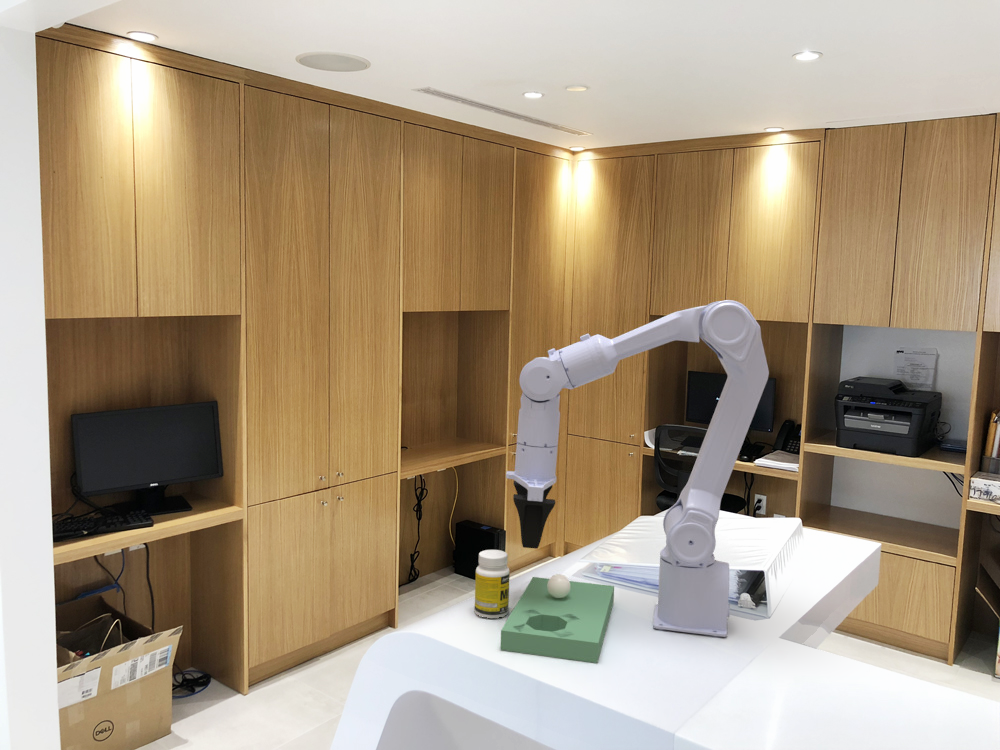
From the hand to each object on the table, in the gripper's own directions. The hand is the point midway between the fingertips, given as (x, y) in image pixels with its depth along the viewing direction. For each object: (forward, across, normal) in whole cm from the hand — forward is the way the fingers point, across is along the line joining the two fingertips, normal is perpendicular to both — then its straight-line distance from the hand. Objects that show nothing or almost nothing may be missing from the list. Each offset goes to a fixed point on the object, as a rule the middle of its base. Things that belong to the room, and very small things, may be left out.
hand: (529, 538), depth 108 cm
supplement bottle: (+10, +2, -5) cm, 12 cm away
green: (+10, +6, +5) cm, 12 cm away
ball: (+6, +2, +4) cm, 8 cm away
